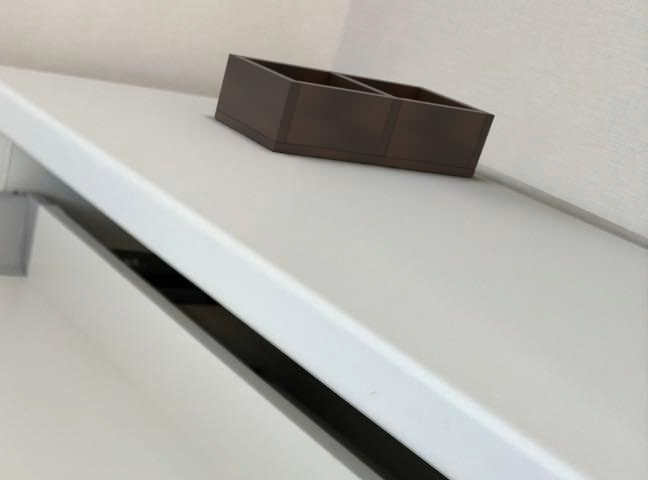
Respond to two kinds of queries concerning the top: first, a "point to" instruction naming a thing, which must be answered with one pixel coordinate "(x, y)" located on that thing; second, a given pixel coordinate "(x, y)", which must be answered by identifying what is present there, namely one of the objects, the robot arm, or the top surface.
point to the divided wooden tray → (350, 117)
